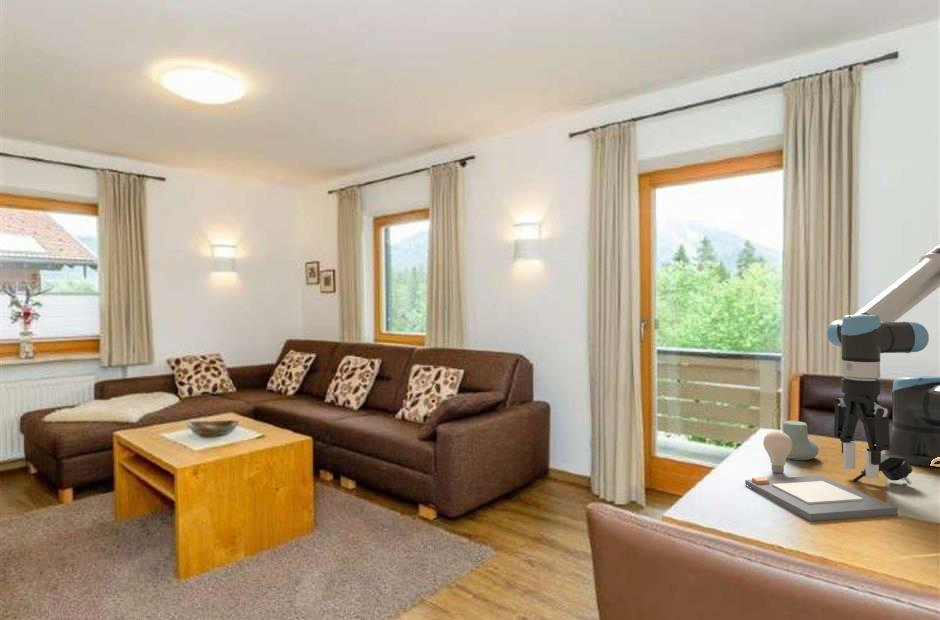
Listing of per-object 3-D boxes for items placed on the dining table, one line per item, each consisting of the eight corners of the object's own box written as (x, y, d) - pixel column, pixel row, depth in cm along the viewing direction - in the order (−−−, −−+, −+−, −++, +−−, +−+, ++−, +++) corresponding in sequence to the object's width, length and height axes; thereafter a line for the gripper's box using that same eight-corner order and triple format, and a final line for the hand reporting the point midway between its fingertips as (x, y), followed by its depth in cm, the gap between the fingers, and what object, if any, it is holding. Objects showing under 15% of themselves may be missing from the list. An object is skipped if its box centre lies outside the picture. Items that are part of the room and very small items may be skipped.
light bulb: (795, 473, 133) (795, 430, 133) (789, 479, 128) (789, 435, 128) (766, 467, 138) (766, 426, 138) (760, 473, 133) (759, 431, 133)
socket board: (820, 481, 127) (820, 472, 127) (897, 514, 107) (897, 503, 107) (745, 486, 124) (745, 476, 124) (809, 521, 105) (809, 509, 105)
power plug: (845, 474, 129) (888, 446, 127) (866, 499, 128) (910, 471, 126) (857, 482, 124) (903, 453, 122) (880, 508, 123) (925, 479, 121)
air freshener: (824, 461, 142) (824, 425, 142) (804, 465, 139) (804, 428, 139) (786, 451, 152) (786, 417, 152) (767, 454, 149) (767, 420, 149)
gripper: (816, 373, 134) (816, 461, 135) (881, 384, 116) (881, 487, 116) (842, 372, 135) (842, 460, 136) (911, 383, 117) (911, 485, 117)
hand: (860, 472), depth 126 cm, fingers open, 6 cm apart
